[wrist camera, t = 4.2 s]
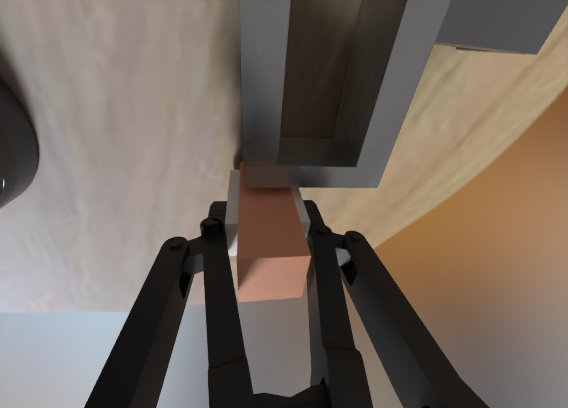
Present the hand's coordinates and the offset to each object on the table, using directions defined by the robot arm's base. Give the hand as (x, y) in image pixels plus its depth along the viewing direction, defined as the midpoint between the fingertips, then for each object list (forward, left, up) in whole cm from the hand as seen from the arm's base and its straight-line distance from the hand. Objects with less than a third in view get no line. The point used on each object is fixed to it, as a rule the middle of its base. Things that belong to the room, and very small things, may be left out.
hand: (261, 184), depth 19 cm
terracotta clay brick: (0, 0, -1) cm, 1 cm away
